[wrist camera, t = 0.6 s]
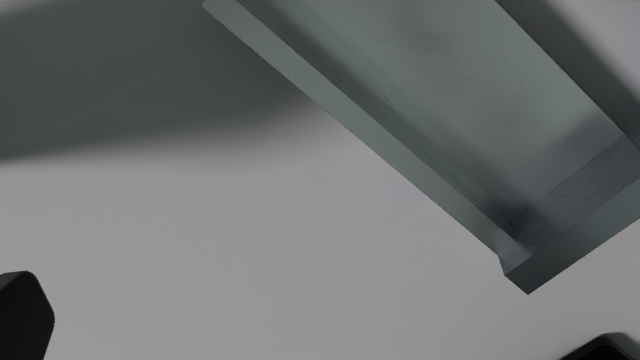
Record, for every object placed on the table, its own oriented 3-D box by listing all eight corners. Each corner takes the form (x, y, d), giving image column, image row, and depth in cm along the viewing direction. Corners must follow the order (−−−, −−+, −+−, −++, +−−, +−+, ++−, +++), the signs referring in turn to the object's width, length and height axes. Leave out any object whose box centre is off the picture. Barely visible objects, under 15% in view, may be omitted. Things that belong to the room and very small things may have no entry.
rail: (631, 140, 21) (677, 192, 18) (505, 234, 23) (527, 295, 20) (335, -165, 17) (329, -164, 14) (217, -14, 19) (191, 16, 16)
